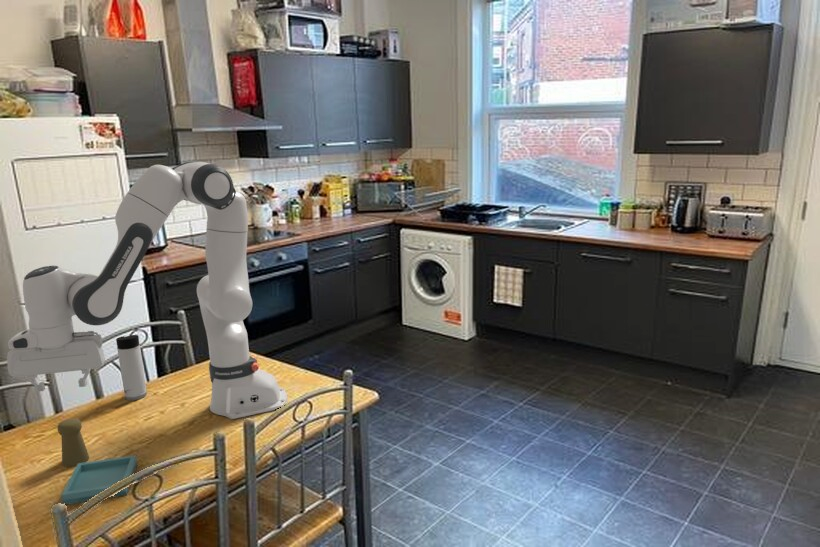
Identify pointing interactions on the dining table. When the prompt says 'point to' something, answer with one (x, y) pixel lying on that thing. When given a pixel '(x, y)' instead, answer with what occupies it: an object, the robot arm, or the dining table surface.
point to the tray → (97, 478)
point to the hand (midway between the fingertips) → (62, 388)
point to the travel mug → (131, 367)
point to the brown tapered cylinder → (72, 442)
